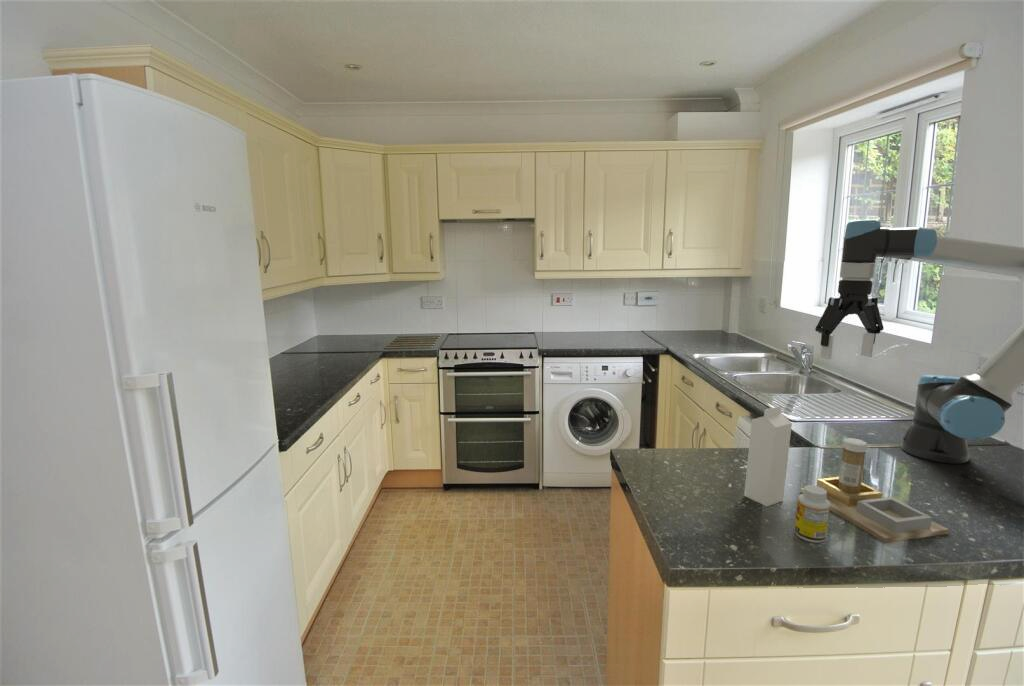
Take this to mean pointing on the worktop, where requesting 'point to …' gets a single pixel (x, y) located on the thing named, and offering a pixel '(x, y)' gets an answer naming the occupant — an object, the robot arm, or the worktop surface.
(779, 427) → the milk
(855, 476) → the sprinkles bottle
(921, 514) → the grey socket collar
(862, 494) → the brass socket collar
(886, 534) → the birch socket board
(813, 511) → the supplement bottle
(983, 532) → the worktop surface
